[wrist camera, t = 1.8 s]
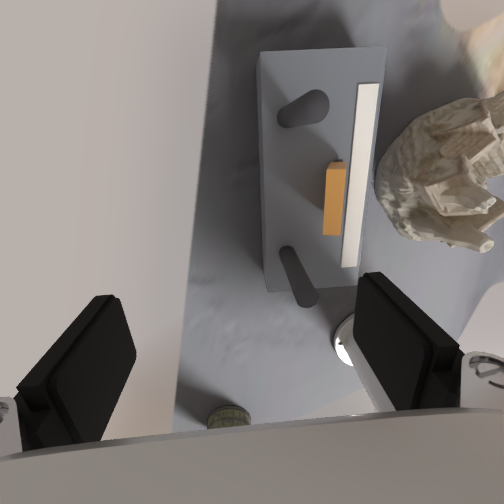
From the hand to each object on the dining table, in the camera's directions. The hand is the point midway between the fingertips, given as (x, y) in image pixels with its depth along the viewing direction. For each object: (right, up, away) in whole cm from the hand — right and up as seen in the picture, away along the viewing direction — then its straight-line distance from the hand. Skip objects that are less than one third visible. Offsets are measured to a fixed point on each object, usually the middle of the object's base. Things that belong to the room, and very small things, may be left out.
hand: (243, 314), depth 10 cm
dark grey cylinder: (+5, +2, +22) cm, 23 cm away
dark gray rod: (+4, +16, +16) cm, 23 cm away
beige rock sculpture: (+25, +13, +25) cm, 38 cm away
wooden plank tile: (+10, +9, +19) cm, 23 cm away
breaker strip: (+7, +12, +24) cm, 28 cm away
